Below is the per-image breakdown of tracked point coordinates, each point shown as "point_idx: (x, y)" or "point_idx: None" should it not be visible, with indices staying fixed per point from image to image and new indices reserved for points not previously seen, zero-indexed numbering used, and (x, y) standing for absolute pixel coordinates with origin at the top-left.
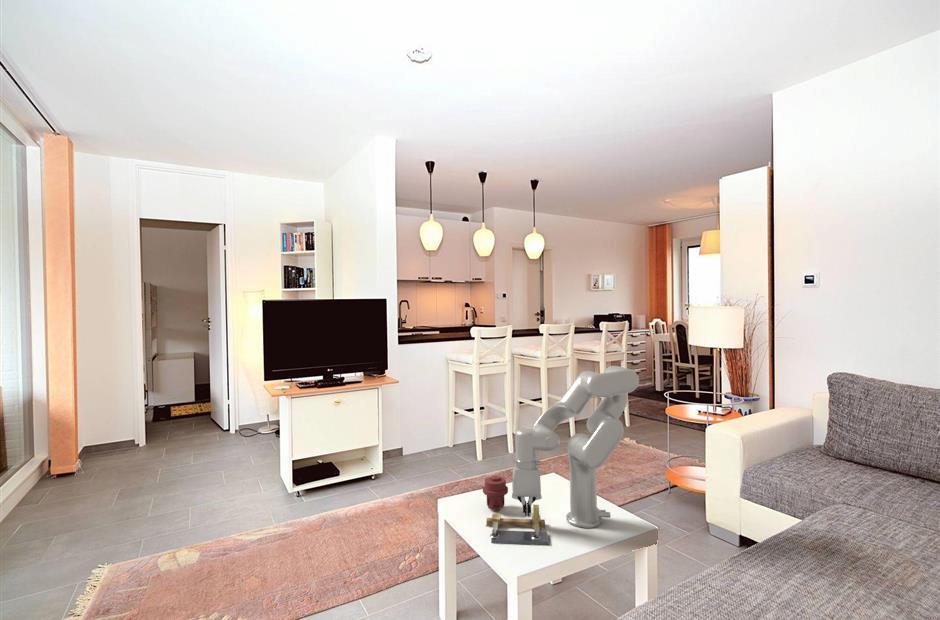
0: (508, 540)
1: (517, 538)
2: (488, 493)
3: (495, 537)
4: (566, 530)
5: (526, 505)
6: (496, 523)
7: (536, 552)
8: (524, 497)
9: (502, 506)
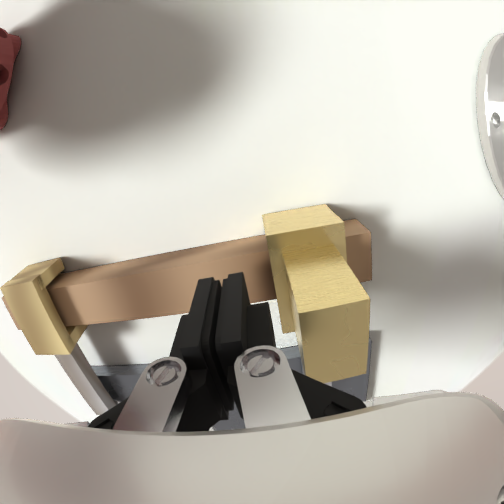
0: None
1: (221, 420)
2: None
3: None
4: (463, 254)
5: (230, 410)
6: (74, 368)
7: None
8: (175, 424)
9: (6, 93)
